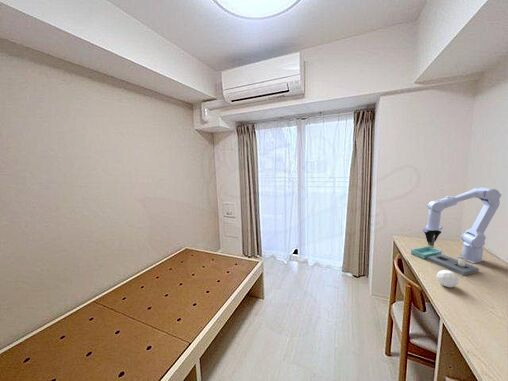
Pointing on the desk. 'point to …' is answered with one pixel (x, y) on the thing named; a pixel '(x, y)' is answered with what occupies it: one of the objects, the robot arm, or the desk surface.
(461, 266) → the fuse
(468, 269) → the fuse block
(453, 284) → the geometric ball
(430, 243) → the led light bulb
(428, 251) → the tray
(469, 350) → the desk surface
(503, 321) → the desk surface
